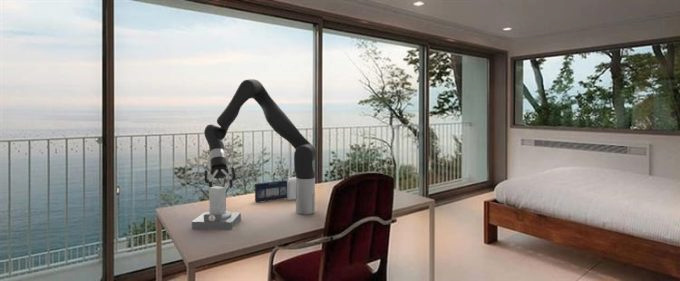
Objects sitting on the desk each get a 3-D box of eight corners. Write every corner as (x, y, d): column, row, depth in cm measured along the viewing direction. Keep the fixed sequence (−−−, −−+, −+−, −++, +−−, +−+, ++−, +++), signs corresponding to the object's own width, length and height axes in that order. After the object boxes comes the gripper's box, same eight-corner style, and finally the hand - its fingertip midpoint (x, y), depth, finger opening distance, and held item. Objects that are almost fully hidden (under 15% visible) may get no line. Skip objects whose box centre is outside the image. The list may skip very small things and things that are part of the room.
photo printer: (302, 196, 217) (302, 175, 216) (305, 198, 214) (305, 176, 213) (285, 199, 212) (285, 177, 210) (289, 200, 208) (289, 178, 207)
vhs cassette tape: (256, 202, 204) (256, 184, 203) (254, 201, 207) (254, 183, 206) (288, 198, 213) (288, 181, 212) (286, 197, 216) (286, 180, 215)
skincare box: (226, 213, 171) (226, 186, 169) (220, 215, 167) (219, 188, 165) (215, 211, 173) (214, 185, 171) (209, 214, 169) (208, 187, 167)
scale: (240, 219, 175) (240, 206, 175) (231, 229, 161) (231, 215, 161) (204, 218, 175) (203, 205, 175) (192, 228, 162) (191, 214, 161)
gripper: (202, 157, 184) (205, 187, 176) (233, 154, 189) (237, 183, 181) (203, 165, 190) (205, 194, 182) (232, 162, 195) (236, 190, 187)
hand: (221, 188), depth 181 cm, fingers open, 8 cm apart
